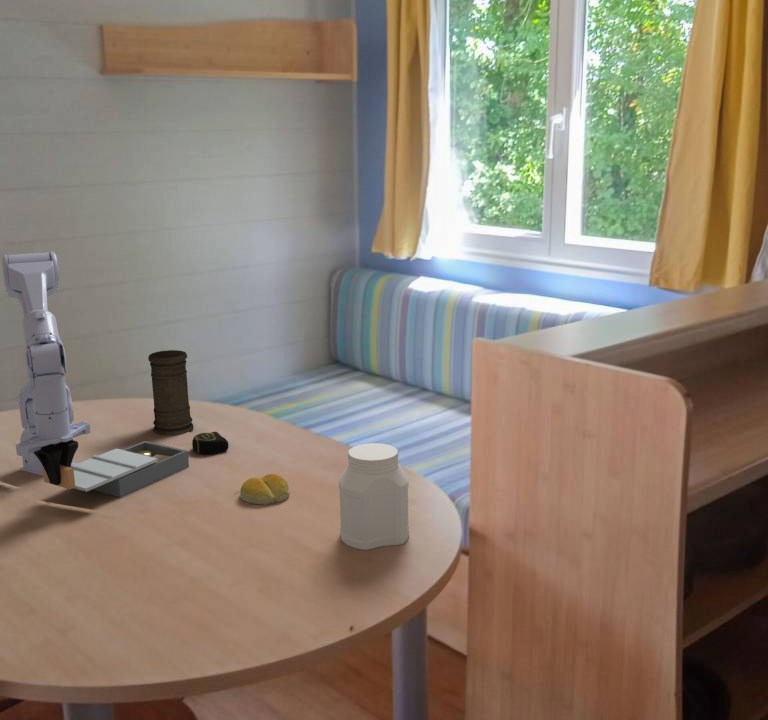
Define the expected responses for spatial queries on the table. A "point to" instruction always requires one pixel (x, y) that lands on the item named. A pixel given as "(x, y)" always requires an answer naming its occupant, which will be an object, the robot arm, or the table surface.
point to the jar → (373, 498)
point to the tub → (147, 469)
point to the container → (170, 393)
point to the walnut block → (159, 458)
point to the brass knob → (145, 453)
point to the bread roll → (264, 490)
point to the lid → (101, 469)
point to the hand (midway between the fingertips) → (59, 481)
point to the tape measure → (209, 443)
